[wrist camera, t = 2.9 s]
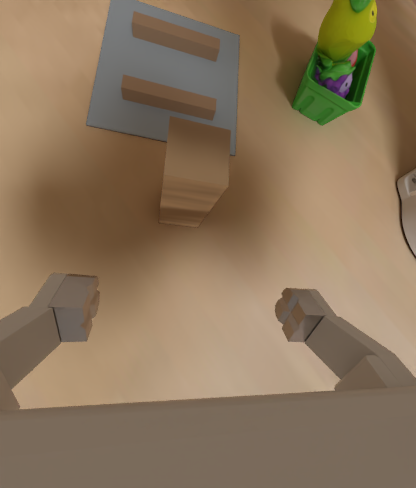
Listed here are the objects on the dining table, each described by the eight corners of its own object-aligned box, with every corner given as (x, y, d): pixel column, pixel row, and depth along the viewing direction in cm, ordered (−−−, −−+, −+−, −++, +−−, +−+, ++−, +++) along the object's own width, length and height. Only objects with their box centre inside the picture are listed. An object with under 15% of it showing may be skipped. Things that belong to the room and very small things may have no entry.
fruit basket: (327, 138, 30) (424, 56, 20) (272, 105, 29) (343, -2, 18) (344, 81, 33) (436, -17, 23) (295, 49, 32) (367, -71, 21)
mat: (234, 156, 26) (240, 147, 24) (86, 125, 22) (81, 113, 21) (239, 36, 30) (244, 22, 28) (112, -6, 26) (110, -25, 25)
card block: (197, 227, 23) (228, 185, 14) (158, 222, 22) (163, 174, 13) (199, 192, 24) (230, 130, 15) (162, 186, 23) (169, 115, 14)
